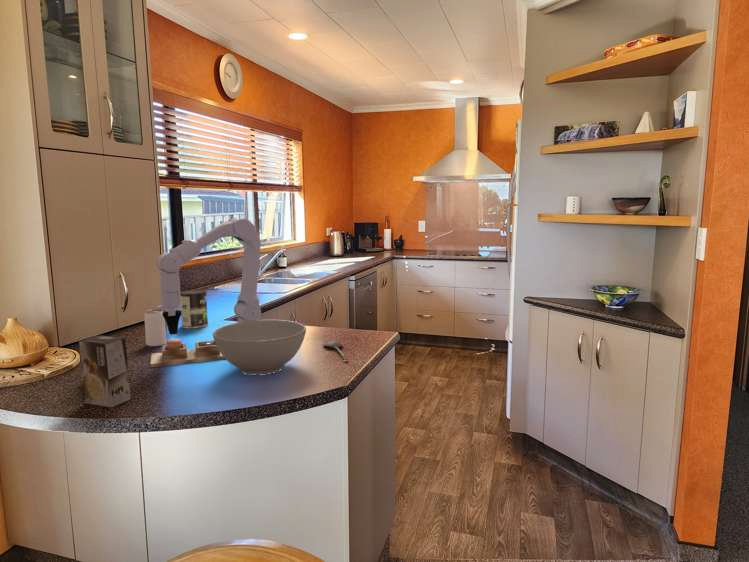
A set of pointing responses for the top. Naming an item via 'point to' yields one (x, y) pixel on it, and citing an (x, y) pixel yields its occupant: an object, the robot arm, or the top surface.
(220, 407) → the top surface
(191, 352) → the console
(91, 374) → the coffee box
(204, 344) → the grey plunger
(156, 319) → the can
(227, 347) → the decorative bowl
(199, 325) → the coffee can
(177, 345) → the orange block
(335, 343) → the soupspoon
